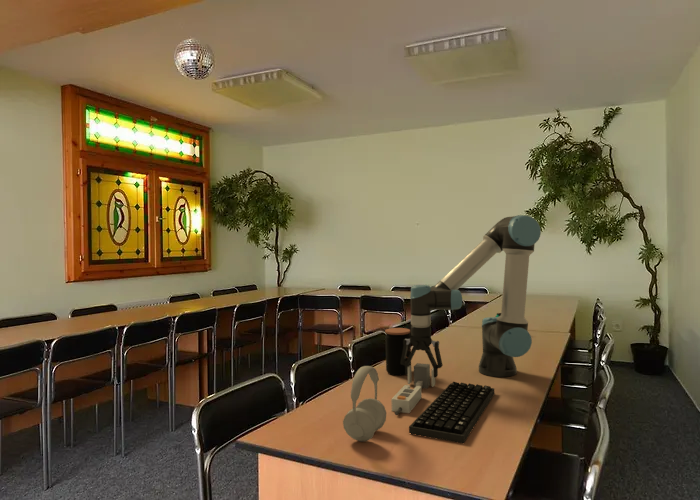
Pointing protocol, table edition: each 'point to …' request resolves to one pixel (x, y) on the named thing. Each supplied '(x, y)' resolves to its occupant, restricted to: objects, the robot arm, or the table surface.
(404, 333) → the coffee jar
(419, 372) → the charger
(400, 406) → the strip
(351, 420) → the headphones
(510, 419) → the table surface
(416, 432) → the computer keyboard
